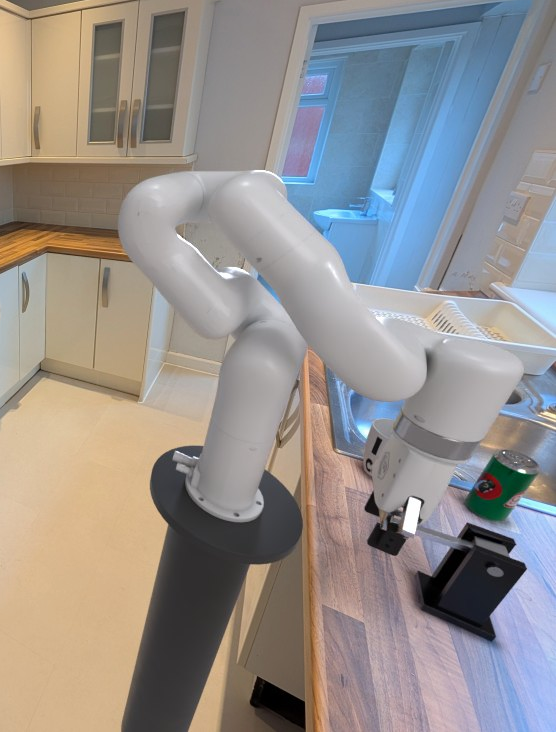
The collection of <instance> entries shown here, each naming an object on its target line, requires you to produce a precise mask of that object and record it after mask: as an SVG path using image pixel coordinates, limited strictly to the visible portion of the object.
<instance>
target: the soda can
mask: <svg viewBox="0 0 556 732" xmlns="http://www.w3.org/2000/svg"><path fill="white" fill-rule="evenodd" d="M539 467H540V465H539V463H538V462H537V461H536V460H535V459H533V458H532V457H530V456H529V455H527V454H524V453H522V452H519V451H516V450H513V449H507V448H503V449H500V450H499V451H497V452H494V453H493V454H492V456H491V458H490V459H489V461H488V462H487V463H486V465H485V466H484V468H483V470H482V472H481V473H480V474H479V476H478V477H477V479H476V481H475V483H474V484H473V486H472V487H471V489H470V491H469V492H468V494H466V497H465V498H464V503H465V505H466V507H467V508H468V509H469V510H470V511H471V512H472V513H473V514H474V515H477V516H478V517H481V518H482V519H485V520H488V521H492V522H505V521H506V520H507V519H508V517H509V516H510V514H512V512H513V510H514V509H515V508H516V506H517V505H518V503H519V502H520V501H521V499H522V498H523V497H524V495H525V493H526V492H527V491H528V490H529V488H530V486H532V483H534V481H535V479H536V478H537V477H538V475H539V473H540V471H539Z"/></svg>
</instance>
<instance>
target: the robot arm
mask: <svg viewBox="0 0 556 732" xmlns="http://www.w3.org/2000/svg"><path fill="white" fill-rule="evenodd" d="M185 223H195V224H207V225H213V227H214V228H215V229H216V230H217V231H218V232H219V233H220V234H221V235H222V236H223V238H224V239H225V240H226V241H227V242H228V243H229V244H230V246H232V247H233V248H234V249H235V250H236V251H237V252H238V253H239V255H241V256H242V257H243V258H244V260H245V261H246V262H247V263H248V264H249V265H250V266H251V267H252V268H253V269H254V270H255V272H256V273H257V274H259V276H260V277H261V278H262V279H263V280H264V281H265V282H266V283H267V284H268V285H269V286H270V288H271V289H272V290H273V291H274V293H275V295H276V296H277V299H278V300H279V301H278V300H277V299H276V298H275V297H274V296H273V295H272V294H271V292H270V291H269V290H268V289H267V288H266V287H265V286H264V285H263V284H262V283H261V282H260V281H259V280H258V279H257V278H256V277H254V276H253V275H252V274H251V273H249V272H247V271H246V270H244V269H241V268H239V267H232V266H224V267H223V266H222V267H217V268H214V266H213V265H212V264H211V263H209V261H208V260H207V259H206V258H205V257H204V256H203V255H202V253H201V252H200V251H199V250H198V249H197V248H196V247H195V246H194V245H193V244H191V243H190V242H188V241H187V240H185V239H184V238H182V236H181V235H179V233H178V232H177V229H176V227H179V226H181V225H184V224H185ZM117 233H118V238H119V241H120V244H121V246H122V249H123V251H124V253H125V254H126V255H127V257H128V258H129V260H130V261H131V262H132V263H133V264H134V265H135V266H136V268H137V269H138V270H139V271H140V272H141V273H142V274H143V275H144V276H145V277H146V278H147V279H148V280H149V282H150V283H151V284H152V285H153V286H154V287H155V288H156V290H157V291H158V292H159V293H160V295H161V296H162V297H163V298H164V300H165V301H166V302H167V303H168V304H169V305H170V306H171V307H172V309H173V310H174V311H175V313H176V314H178V316H179V317H180V318H181V319H182V320H183V322H184V323H185V324H186V325H187V326H188V327H189V329H190V330H192V332H193V333H195V335H197V336H199V337H200V338H204V339H205V340H212V341H213V340H214V341H215V340H216V341H217V340H222V339H224V338H226V337H229V336H231V337H232V338H233V339H234V341H233V343H232V344H231V345H230V347H229V348H228V350H227V351H226V353H225V355H224V357H223V359H222V361H221V365H220V368H219V373H218V380H217V388H216V393H215V398H214V402H213V406H212V410H211V414H210V418H209V423H208V427H207V431H206V435H205V438H204V443H203V445H202V446H203V450H202V453H201V454H200V457H199V458H197V457H194V456H193V458H191V457H189V456H186V455H185V454H182V453H180V452H177V451H175V453H174V456H173V461H175V462H178V464H177V466H176V470H177V471H180V472H182V473H186V478H185V486H186V490H187V492H188V494H189V496H190V497H191V498H192V500H193V501H194V502H195V503H196V504H197V505H198V506H199V507H201V508H202V509H203V510H204V511H206V512H208V513H209V514H211V515H213V516H215V517H218V518H220V519H223V520H226V521H231V522H249V521H252V520H254V519H256V518H257V517H259V515H260V514H261V512H262V509H263V506H264V500H263V496H262V494H261V492H260V490H259V489H258V487H259V484H260V481H261V478H262V475H263V472H264V470H266V467H267V464H268V461H269V458H270V455H271V452H272V449H273V447H274V443H275V441H276V437H277V434H278V431H279V429H280V426H281V422H282V420H283V416H284V414H285V411H286V408H287V405H288V401H289V400H290V396H291V395H292V392H293V389H294V386H295V383H296V381H297V379H298V376H299V374H300V371H301V369H302V367H303V363H304V361H305V358H306V357H307V353H308V347H309V348H310V349H311V350H312V352H313V353H314V354H315V355H316V356H317V357H318V358H319V359H320V361H322V363H323V364H324V365H326V367H327V368H328V369H329V370H330V371H331V373H333V374H334V376H336V377H337V378H338V380H340V381H341V382H342V383H343V384H344V385H345V386H346V387H347V388H349V390H351V391H353V392H354V393H356V394H358V395H360V396H362V397H364V398H365V399H369V400H372V401H375V402H381V403H394V402H395V403H396V402H402V401H404V403H403V405H402V407H401V408H400V410H399V412H398V414H397V416H396V418H395V419H394V420H395V422H394V424H393V426H392V429H391V430H392V434H391V436H390V437H389V439H388V441H387V442H386V444H385V446H384V447H383V449H382V451H381V452H380V454H379V456H378V457H377V459H376V461H375V463H374V464H373V467H372V477H371V479H372V488H373V490H372V492H371V494H370V496H369V498H368V499H367V502H366V503H365V505H364V508H363V509H364V511H365V512H366V513H367V514H370V515H373V516H375V517H378V518H380V516H379V509H380V510H382V511H383V510H384V511H385V513H384V515H383V518H382V521H381V523H380V522H378V521H377V522H376V523H375V525H374V527H373V529H372V530H371V532H370V534H369V536H368V538H367V540H366V542H367V543H366V545H368V546H369V547H371V548H373V549H375V550H378V551H381V552H383V553H385V554H387V555H389V556H393V557H396V556H398V554H399V553H400V551H401V550H402V548H403V546H404V545H405V543H406V541H407V540H409V538H410V539H414V537H415V536H416V535H415V532H416V527H417V525H424V524H425V523H427V522H428V521H429V519H430V518H431V517H432V516H433V514H434V512H435V510H436V509H437V507H438V506H439V504H440V502H441V500H442V498H443V496H444V494H445V492H446V491H447V489H448V487H449V484H450V482H451V480H452V479H453V476H454V475H455V474H454V473H455V471H456V469H457V466H458V465H462V464H466V463H468V462H470V460H471V459H472V457H473V456H474V455H475V453H476V451H477V450H478V448H479V446H480V445H481V443H482V441H483V440H484V438H485V436H487V434H488V432H489V431H490V429H491V428H492V425H493V424H494V422H495V421H496V419H497V417H498V416H499V415H500V414H501V411H502V410H503V408H504V407H505V405H506V404H507V402H508V400H509V399H510V397H511V395H512V394H513V393H514V391H515V390H516V388H517V386H518V385H519V383H520V382H521V379H522V378H523V376H524V373H525V365H524V363H523V361H522V360H521V359H520V357H518V356H517V355H515V354H514V353H512V352H511V351H508V350H506V349H504V348H502V347H500V346H496V345H494V344H490V343H487V342H484V341H480V340H475V339H470V338H459V337H453V336H450V335H446V334H443V333H440V332H438V331H434V330H432V329H429V328H427V327H424V326H421V325H419V324H415V323H412V322H409V321H406V320H403V319H400V318H394V317H389V316H379V317H377V316H376V315H374V314H373V312H372V311H371V310H370V309H369V308H368V307H367V304H365V303H364V301H363V299H361V297H360V296H359V295H358V293H357V291H356V289H355V288H354V286H353V284H352V282H351V280H350V277H349V276H348V272H347V270H346V266H345V264H344V261H343V259H342V257H341V256H340V254H339V252H338V251H337V249H336V247H335V246H334V245H333V244H332V243H331V242H330V241H329V240H328V239H327V238H326V237H325V236H324V235H322V234H321V232H319V231H318V229H316V228H315V227H314V225H313V224H312V223H310V221H308V220H307V219H306V218H305V217H304V216H303V215H302V214H301V213H300V212H299V210H297V209H296V208H295V207H294V206H293V204H292V203H291V202H289V201H288V191H287V186H286V185H285V183H284V181H283V180H282V179H281V178H280V177H279V176H278V175H276V174H275V173H272V172H271V171H266V170H259V169H257V170H256V169H255V170H253V169H252V170H229V171H228V170H185V171H184V170H183V171H175V172H171V173H167V174H161V175H157V176H153V177H150V178H146V179H144V180H142V181H140V182H139V183H137V184H136V185H135V186H134V187H133V188H132V189H130V190H129V192H128V193H127V195H126V196H125V197H124V199H123V201H122V203H121V206H120V208H119V211H118V217H117ZM182 464H184V465H182ZM185 465H186V466H189V467H190V468H189V467H186V466H185ZM401 508H402V510H400V509H401ZM392 515H393V517H394V518H395V516H396V517H398V518H400V520H401V521H400V523H398V524H397V523H394V522H390V520H391V518H392Z"/></svg>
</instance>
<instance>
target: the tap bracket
mask: <svg viewBox="0 0 556 732" xmlns="http://www.w3.org/2000/svg"><path fill="white" fill-rule="evenodd" d="M474 536H476V537H479V538H482V539H485V540H488V541H491V542H495V543H498V544H501V545H504V546H506V549H507V551H508V554H509V555H510V554H511V552H512V551H513V549H514V548H515V547H516V545H517V542H516V540H515V539H514V538H512V537H510V536H507V535H505V534H501V533H498V532H496V531H493V530H491V529H487V528H483V527H481V526H479V525H476V524H473V523H470V522H466V523H465V524H464V525H463V528H462V529H461V530H460V532H459V534H458V535H457V536H456V538H459V539H462V540H466V541H469V542H472V540H473V538H474ZM527 570H528V568H527V566H526V563H525V562H523V561H521V560H517V559H515V558H512V557H507V556H504V555H502V554H499V553H496V552H494V551H491V550H488V549H486V548H483V547H480V546H478V545H475V544H474V546H473V547H472V548H471V550H470V551H469V553H467V552H464V551H461V550H458V549H455V548H452V547H449V549H448V550H447V552H446V553H445V555H444V557H443V558H442V559H441V561H440V562H439V564H438V565H437V567H436V569H435V570H434V572H433V573H432V574H431V575H430V574H428V573H426V572H422V571H420V570H417V571H416V573H415V574H414V580H415V585H416V590H417V591H416V592H417V597H418V602H419V607H420V610H421V611H423V612H425V613H427V614H429V615H431V616H433V617H436V618H438V619H440V620H442V621H444V622H447V623H449V624H451V625H453V626H455V627H457V628H460V629H462V630H465V631H466V632H469V633H471V634H474V635H475V636H478V637H480V638H482V639H484V640H486V641H488V642H491V643H492V642H493V641H494V640H495V639H496V638H497V635H496V631H495V629H494V625H493V621H492V619H491V616H492V614H493V613H494V612H495V610H496V609H497V608H498V606H499V605H500V604H501V603H502V601H503V600H504V599H505V598H506V597H507V596H508V594H509V593H510V591H511V590H512V589H513V588H514V586H515V585H516V584H517V583H518V581H520V579H521V578H522V577H523V575H524V574H525V573H526V571H527Z"/></svg>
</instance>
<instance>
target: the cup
mask: <svg viewBox="0 0 556 732" xmlns="http://www.w3.org/2000/svg"><path fill="white" fill-rule="evenodd" d="M395 420H396V419H392V418H386V417H381V418H380V417H379V418H376V419H373V420H372V422H371V425H370V428H369V431H368V433H367V437H366V440H365V444H364V450H363V454H362V455H363V458H362V459H363V461H362V462H363V470H364V472H365V473H366V474H367V475H368V476H369V477H371V478H372V467H373V464H374V463H375V461H376V459H377V457H378V456H379V454H380V452H381V451H382V449H383V447H384V446H385V444H386V442H387V441H388V439H389V437H390V436H391V434H392V430H391V429H392V426H393V424H394V422H395Z"/></svg>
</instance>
